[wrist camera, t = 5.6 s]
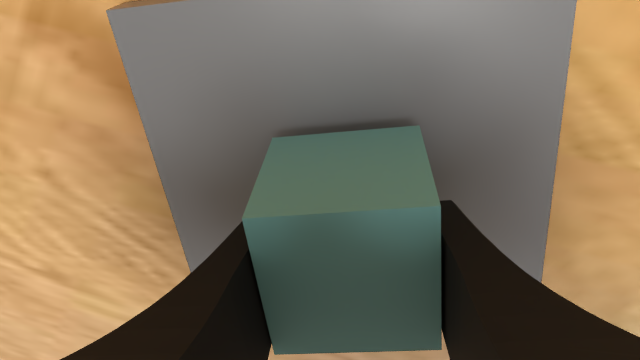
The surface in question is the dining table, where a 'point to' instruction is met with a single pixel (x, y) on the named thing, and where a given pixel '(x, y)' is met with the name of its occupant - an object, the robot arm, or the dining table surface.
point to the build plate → (352, 99)
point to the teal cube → (347, 242)
